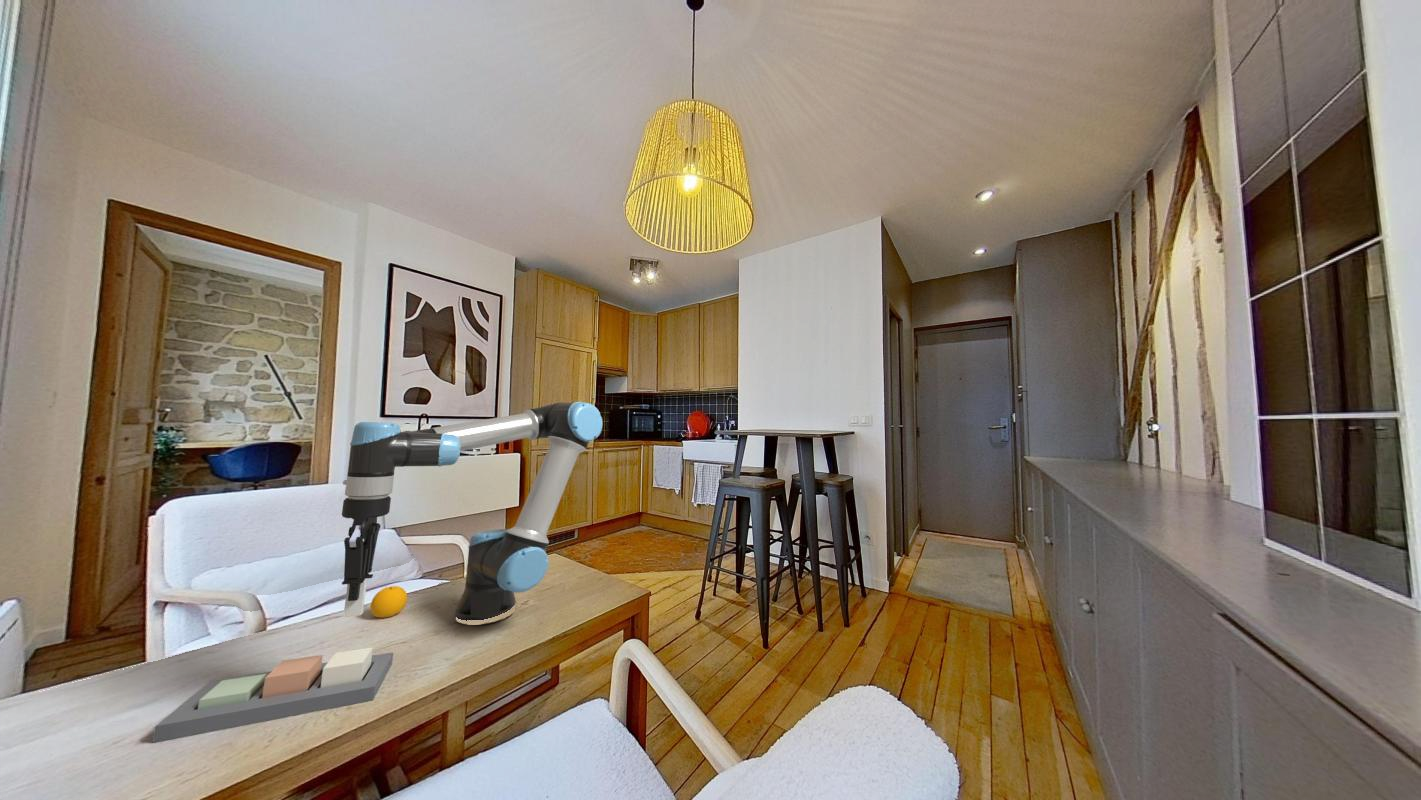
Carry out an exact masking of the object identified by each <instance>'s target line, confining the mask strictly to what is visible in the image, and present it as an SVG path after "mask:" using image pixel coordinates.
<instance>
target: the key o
mask: <svg viewBox="0 0 1421 800" xmlns="http://www.w3.org/2000/svg"><path fill="white" fill-rule="evenodd" d="M266 675H267V674H261V675H255V676H248V677H242V678H236V679H229V680H223V681H221V682H220V683H219V684H218V685H216V686H215V687H214V688H213V689H212V690H211V691H209V692H208V693H207V694H206V695H205V696H204V697H202V698H201V699H200V700H199V705H198V709H203V708H209V707H214V706H220V705H226V704H232V703H237V702H243V701H249V700H250V699H251V698H252V697H253V696H254V695H255V694H256V693H257V692H258V691H259V690H260V689H261V688H262V687H263V686H264V682H265V678H266Z"/></svg>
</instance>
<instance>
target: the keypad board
mask: <svg viewBox="0 0 1421 800" xmlns="http://www.w3.org/2000/svg"><path fill="white" fill-rule="evenodd" d="M393 659H394V652H385V653H380V654H374V655H373V654H372V659H371V665H370V667H369V669H368V670H367V672H366V674H365V675H364V678H363V679H362V680H361V681H358V682H352V683H346V684H340V685H335V686H329V687H323V688H321V681H322V673H323V668H324V667H325V666H326V664H327V663H328V662H329V661H328V662H322V665H321V673H320V674H319V676H318V677H317V678H316V679H315V681H314V682H313V683H312V684H311V686H310V687H309V688H308V689H307V690H306V691H300V692H295V693H289V694H283V695H277V696H272V697H266V698H262V695H263V689H264V686H263V687H262V688H261V689H260V690H259V691H258V692H257V693H256V694H255V695H254V696H253V697H252V698H251V699H250V700H249V701H243V702H237V703H232V704H226V705H220V706H214V707H209V708H203V709H198V705H199V700H200V699H201V698H202V697H204V696H205V695H206V694H207V693H208V692H209V691H211V690H212V689H213V688H214V687H215V686H216V685H218V684H219V683H220V682H221V681H223V680H229V679H236V678H242V677H248V676H255V675H261V674H267V675H266V677H267V676H268V675H269V674H270V673H271V672H272V671H273V670H271V671H264V672H263V671H262V672H257V673H250V674H244V675H237V676H230V677H224V678H219V679H211V680H209V681H208V682H207V683H205V684H204V685H203V686H202V687H201V688H200V689H198V690H197V691H196V692H195V693H194V694H192V695H191V696H190V697H188V699H187V700H185V701H183V703H182V704H180V705H179V706H178V707H177V708H176V709H174V710H173V711H172V712H171V713H169V715H167V716H166V717H164V718H163V719H162V720H161V721H160V722H159V723H158V724H156V725H155V727H154V731H153V738H152V744H155V743H161V742H164V741H169V740H170V741H171V740H174V739H180V738H185V737H189V736H196V735H200V734H206V733H211V732H217V731H221V730H227V729H232V728H237V727H242V726H249V725H252V724H257V723H263V722H268V721H273V720H277V719H283V718H288V717H293V716H299V715H303V714H304V715H305V714H309V713H315V712H320V711H324V710H330V709H335V708H340V707H346V706H350V705H356V704H360V703H366V702H367V703H368V702H371V701H372V702H373V701H374V700H375V697H376V695H378V691H379V689H380V688H381V686H382V684H383V683H384V680H385V678H386V677H387V674H388V673H389V671H390V668H391V667H392V665H393Z"/></svg>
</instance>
